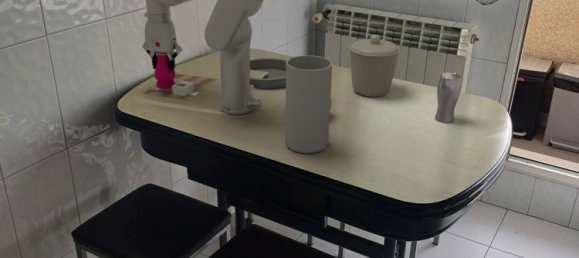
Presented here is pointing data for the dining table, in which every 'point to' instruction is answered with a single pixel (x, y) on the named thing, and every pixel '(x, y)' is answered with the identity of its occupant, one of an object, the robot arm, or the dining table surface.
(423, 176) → the dining table surface
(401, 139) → the dining table surface
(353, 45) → the canister
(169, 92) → the brown flat board
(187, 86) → the block
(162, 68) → the pepper mill
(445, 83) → the beer glass
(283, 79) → the cake pan
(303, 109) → the cylinder vase
